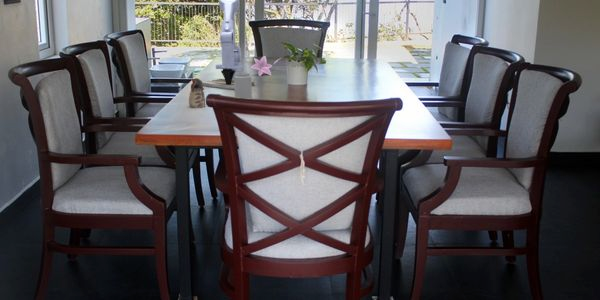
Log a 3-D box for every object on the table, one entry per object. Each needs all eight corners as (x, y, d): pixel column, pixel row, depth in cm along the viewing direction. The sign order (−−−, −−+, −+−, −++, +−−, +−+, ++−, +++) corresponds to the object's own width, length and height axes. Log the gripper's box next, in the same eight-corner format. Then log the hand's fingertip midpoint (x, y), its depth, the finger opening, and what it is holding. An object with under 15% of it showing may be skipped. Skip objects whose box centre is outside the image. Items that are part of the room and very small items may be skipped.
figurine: (209, 105, 297) (208, 77, 294) (196, 108, 292) (195, 79, 289) (198, 104, 302) (197, 76, 299) (185, 106, 297) (184, 78, 294)
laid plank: (220, 81, 360) (220, 78, 360) (254, 85, 348) (254, 82, 348) (212, 83, 355) (212, 80, 355) (246, 86, 343) (245, 83, 342)
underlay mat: (219, 82, 361) (219, 81, 360) (255, 85, 348) (255, 85, 348) (200, 86, 349) (199, 85, 349) (235, 90, 336) (235, 89, 336)
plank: (211, 83, 354) (210, 80, 354) (244, 87, 342) (244, 84, 342) (201, 85, 349) (201, 82, 348) (235, 89, 337) (235, 86, 336)
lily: (247, 77, 381) (252, 63, 376) (249, 66, 391) (254, 52, 385) (268, 84, 383) (273, 69, 377) (270, 73, 392) (275, 58, 387)
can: (242, 97, 316) (241, 71, 313) (255, 99, 312) (254, 72, 309) (231, 100, 310) (230, 73, 307) (244, 101, 306) (243, 74, 303)
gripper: (211, 56, 339) (212, 84, 342) (234, 58, 331) (234, 87, 334) (220, 55, 345) (221, 82, 348) (243, 56, 336) (244, 85, 340)
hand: (228, 84), depth 341 cm, fingers closed, pressing on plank
